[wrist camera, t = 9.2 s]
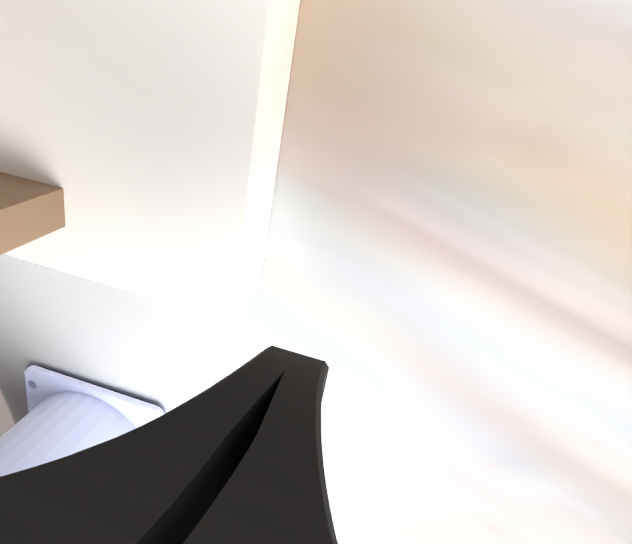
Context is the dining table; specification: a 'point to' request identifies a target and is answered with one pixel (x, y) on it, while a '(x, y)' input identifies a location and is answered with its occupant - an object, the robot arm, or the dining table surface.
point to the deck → (144, 141)
